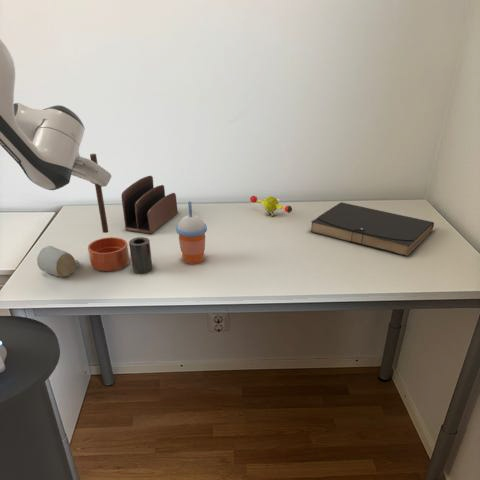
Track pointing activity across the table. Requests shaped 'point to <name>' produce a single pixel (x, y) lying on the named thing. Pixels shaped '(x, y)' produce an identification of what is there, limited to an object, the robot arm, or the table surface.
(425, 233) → the black book
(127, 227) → the letter holder
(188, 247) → the cup with straw
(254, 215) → the table surface
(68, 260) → the ceramic mug
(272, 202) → the toy figure
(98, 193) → the stick
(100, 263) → the bowl
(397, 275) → the table surface
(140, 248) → the tube
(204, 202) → the table surface
